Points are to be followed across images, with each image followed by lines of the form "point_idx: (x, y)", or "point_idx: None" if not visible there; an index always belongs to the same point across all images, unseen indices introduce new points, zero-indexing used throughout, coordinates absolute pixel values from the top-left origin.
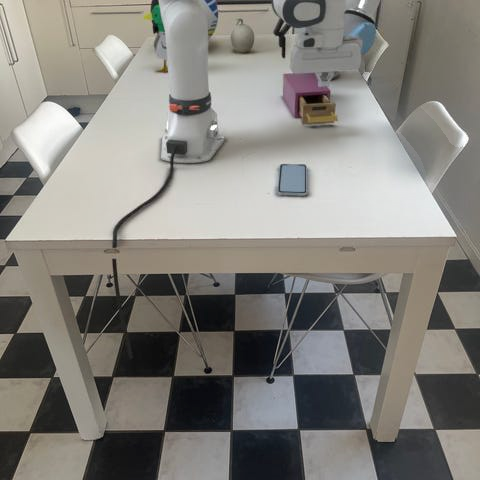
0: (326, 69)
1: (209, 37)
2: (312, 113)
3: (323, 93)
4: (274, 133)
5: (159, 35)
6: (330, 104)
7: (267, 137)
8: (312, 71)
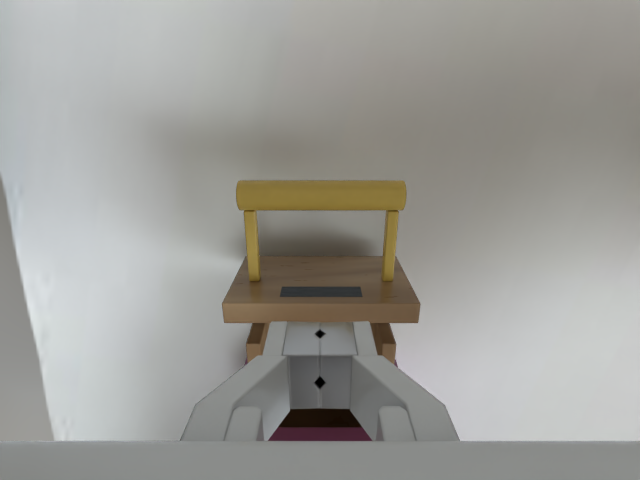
0: (320, 476)
1: None
2: (355, 279)
3: None
4: (531, 213)
5: None
6: (254, 301)
7: (580, 176)
8: (592, 454)
